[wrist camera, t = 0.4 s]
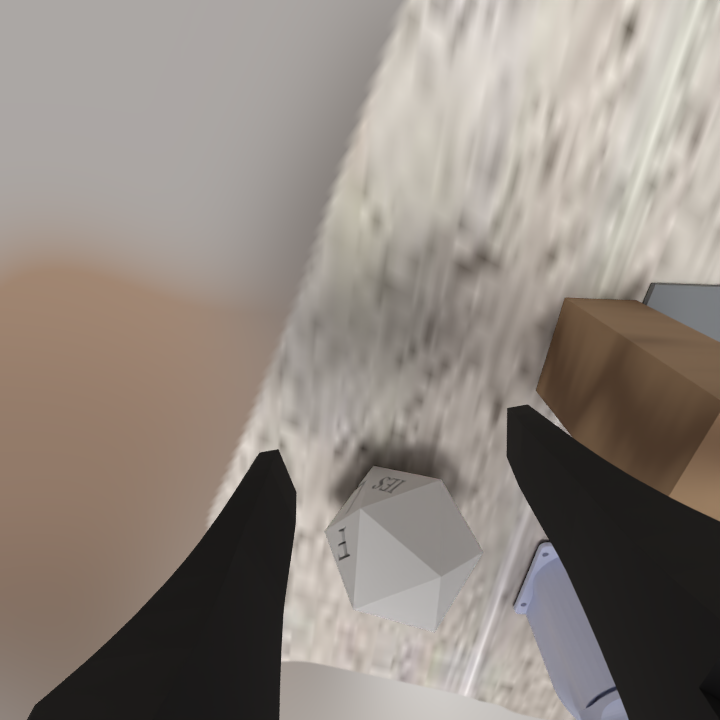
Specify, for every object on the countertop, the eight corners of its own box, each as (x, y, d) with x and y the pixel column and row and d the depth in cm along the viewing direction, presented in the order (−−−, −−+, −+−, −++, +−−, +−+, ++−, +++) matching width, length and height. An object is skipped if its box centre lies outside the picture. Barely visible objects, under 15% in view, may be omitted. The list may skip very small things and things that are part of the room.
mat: (752, 422, 25) (756, 425, 24) (594, 418, 24) (597, 421, 24) (840, 290, 20) (847, 291, 20) (651, 283, 20) (655, 284, 20)
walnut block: (599, 392, 23) (747, 533, 15) (535, 390, 23) (647, 531, 14) (636, 300, 21) (848, 406, 12) (564, 297, 20) (725, 403, 12)
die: (427, 417, 25) (329, 523, 18) (526, 524, 24) (462, 684, 17) (368, 464, 31) (277, 557, 24) (445, 551, 30) (372, 678, 23)
